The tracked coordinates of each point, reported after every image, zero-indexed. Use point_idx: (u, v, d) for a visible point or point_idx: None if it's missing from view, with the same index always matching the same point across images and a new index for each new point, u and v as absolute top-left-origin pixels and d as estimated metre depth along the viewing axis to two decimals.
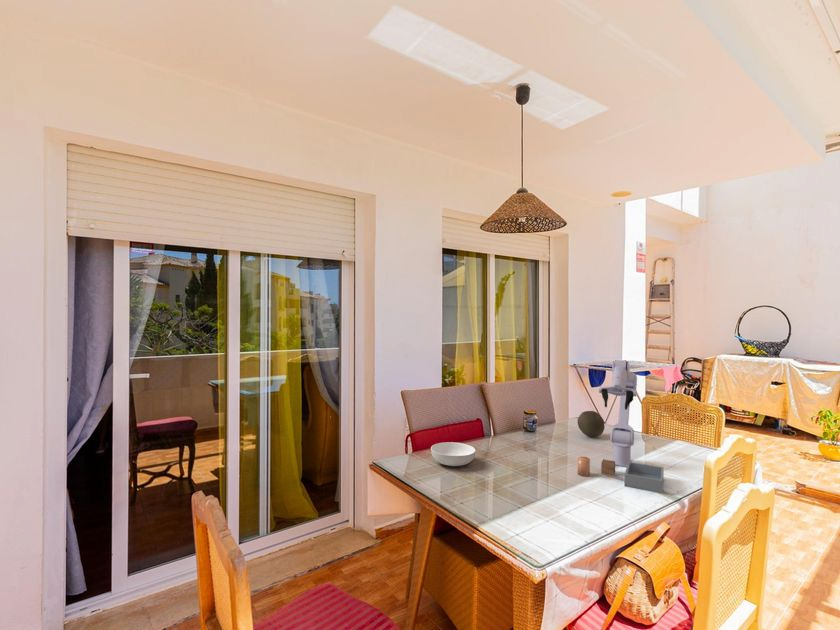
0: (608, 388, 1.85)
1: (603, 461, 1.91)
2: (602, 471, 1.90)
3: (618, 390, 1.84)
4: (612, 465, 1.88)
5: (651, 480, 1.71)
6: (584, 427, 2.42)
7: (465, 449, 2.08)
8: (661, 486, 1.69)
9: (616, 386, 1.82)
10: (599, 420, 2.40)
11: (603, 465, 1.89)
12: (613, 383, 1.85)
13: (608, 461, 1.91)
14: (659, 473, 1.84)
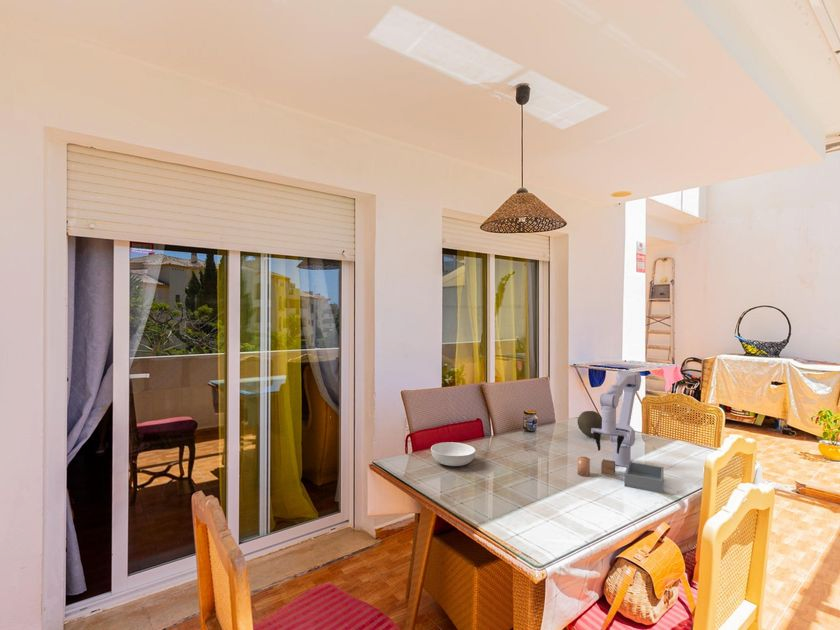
0: None
1: (603, 461, 1.91)
2: (602, 471, 1.90)
3: None
4: (612, 465, 1.87)
5: (651, 480, 1.71)
6: (584, 427, 2.42)
7: (465, 449, 2.08)
8: (661, 486, 1.69)
9: (607, 433, 1.88)
10: (599, 420, 2.40)
11: (603, 465, 1.89)
12: (604, 428, 1.89)
13: (608, 461, 1.91)
14: (659, 473, 1.84)
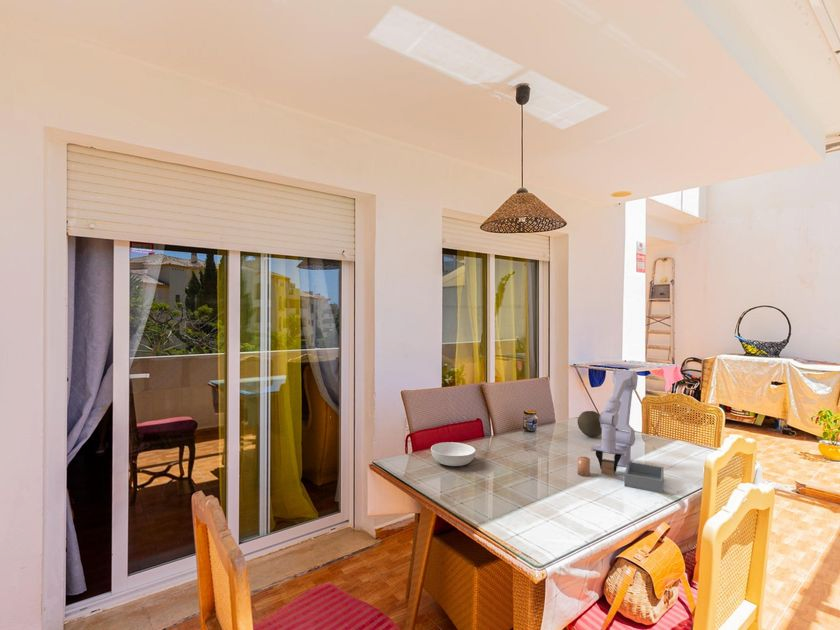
0: None
1: (603, 461, 1.91)
2: (602, 471, 1.90)
3: None
4: (612, 465, 1.88)
5: (651, 480, 1.71)
6: (584, 427, 2.42)
7: (465, 449, 2.08)
8: (661, 486, 1.69)
9: None
10: (599, 420, 2.40)
11: (603, 465, 1.89)
12: (603, 446, 1.90)
13: (608, 461, 1.91)
14: (659, 473, 1.84)
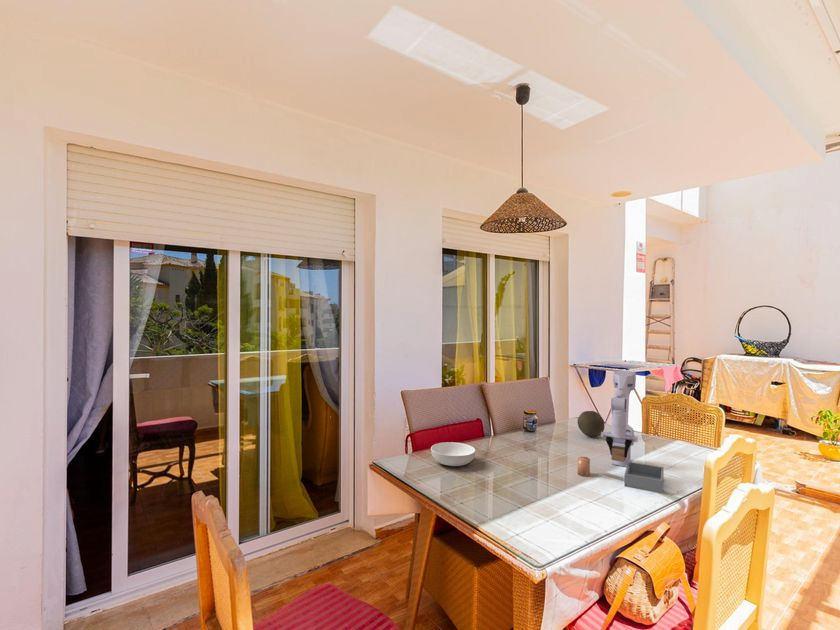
0: None
1: (613, 447, 1.89)
2: (612, 457, 1.87)
3: None
4: (622, 451, 1.85)
5: (651, 480, 1.71)
6: (584, 427, 2.42)
7: (465, 449, 2.08)
8: (661, 486, 1.69)
9: (617, 437, 1.86)
10: (599, 420, 2.40)
11: (613, 451, 1.87)
12: (614, 431, 1.87)
13: (618, 447, 1.89)
14: (659, 473, 1.84)
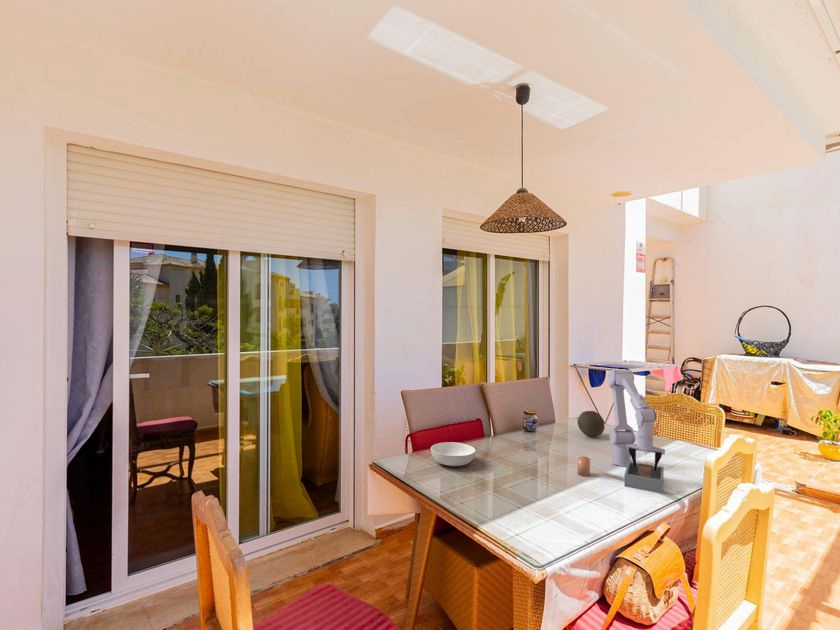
0: None
1: (639, 465, 1.83)
2: None
3: None
4: (649, 469, 1.80)
5: (651, 480, 1.71)
6: (584, 427, 2.42)
7: (465, 449, 2.08)
8: (661, 486, 1.69)
9: None
10: (599, 420, 2.40)
11: (639, 469, 1.82)
12: (640, 444, 1.82)
13: (645, 465, 1.83)
14: (659, 473, 1.84)
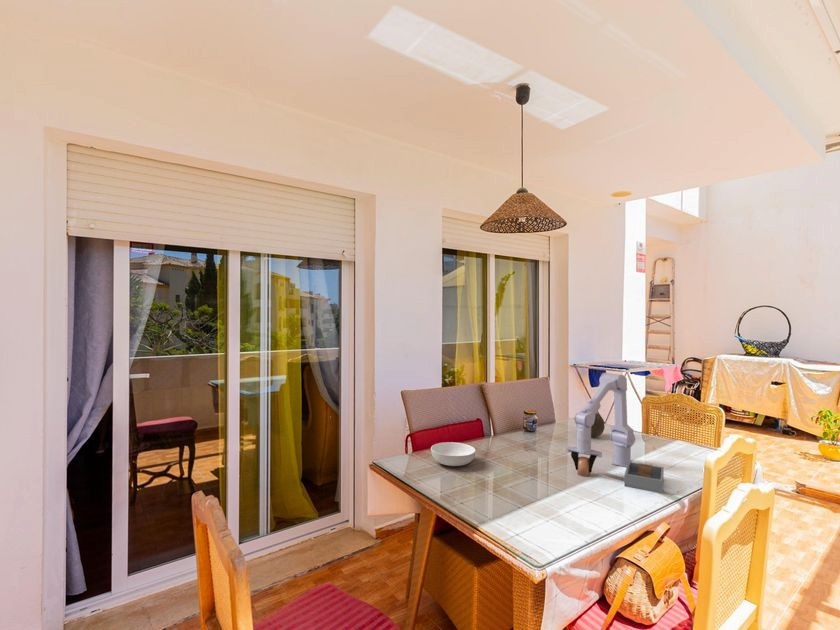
0: None
1: (639, 465, 1.83)
2: None
3: None
4: (649, 469, 1.80)
5: (651, 480, 1.71)
6: None
7: (465, 449, 2.08)
8: (661, 486, 1.69)
9: None
10: (599, 420, 2.40)
11: (639, 469, 1.82)
12: (578, 447, 1.87)
13: (645, 465, 1.83)
14: (659, 473, 1.84)
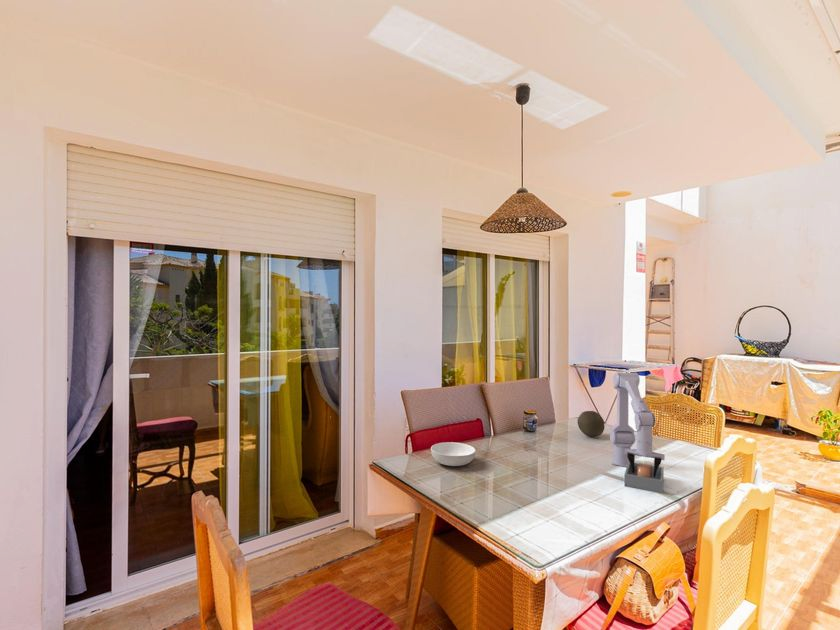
0: None
1: None
2: None
3: None
4: None
5: (651, 480, 1.71)
6: (584, 427, 2.42)
7: (465, 449, 2.08)
8: (661, 486, 1.69)
9: (643, 455, 1.74)
10: (599, 420, 2.40)
11: None
12: (639, 449, 1.76)
13: None
14: (659, 473, 1.84)
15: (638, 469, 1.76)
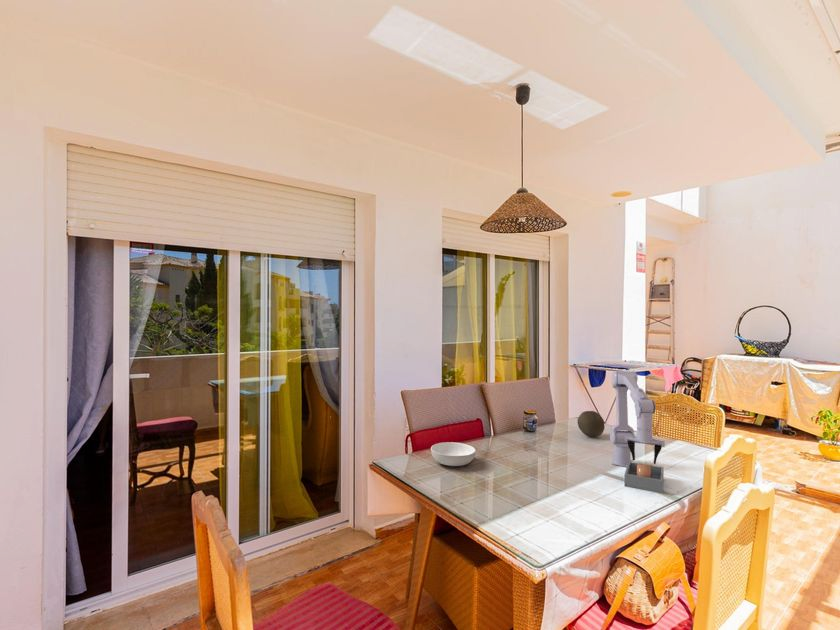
0: None
1: None
2: None
3: None
4: None
5: (651, 480, 1.71)
6: (584, 427, 2.42)
7: (465, 449, 2.08)
8: (661, 486, 1.69)
9: (643, 442, 1.74)
10: (599, 420, 2.40)
11: None
12: (639, 436, 1.76)
13: None
14: (659, 473, 1.84)
15: (638, 469, 1.76)
